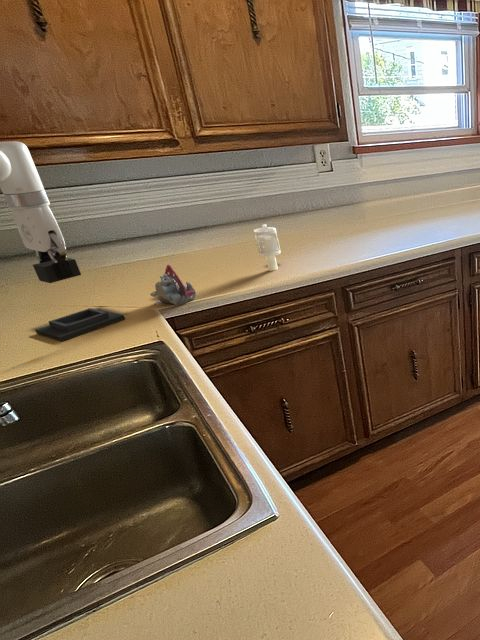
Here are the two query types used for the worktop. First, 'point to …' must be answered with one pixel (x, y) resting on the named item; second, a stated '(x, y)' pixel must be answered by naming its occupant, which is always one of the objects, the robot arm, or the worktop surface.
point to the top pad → (53, 271)
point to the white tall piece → (268, 245)
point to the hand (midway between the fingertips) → (59, 275)
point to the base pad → (79, 323)
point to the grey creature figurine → (173, 289)
